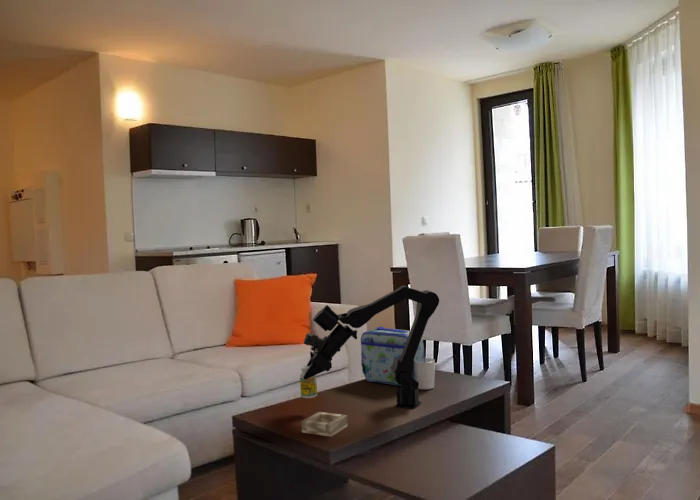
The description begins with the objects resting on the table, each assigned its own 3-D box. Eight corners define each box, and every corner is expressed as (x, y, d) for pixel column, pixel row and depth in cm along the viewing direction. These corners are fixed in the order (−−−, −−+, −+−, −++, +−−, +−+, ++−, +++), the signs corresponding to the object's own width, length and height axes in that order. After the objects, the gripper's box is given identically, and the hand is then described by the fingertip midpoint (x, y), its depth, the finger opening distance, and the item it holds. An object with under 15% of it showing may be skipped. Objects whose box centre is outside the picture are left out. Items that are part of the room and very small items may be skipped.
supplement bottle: (319, 394, 200) (318, 365, 200) (313, 398, 195) (312, 369, 195) (304, 393, 202) (302, 365, 202) (298, 398, 197) (296, 368, 196)
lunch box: (358, 380, 238) (355, 327, 237) (376, 375, 245) (374, 323, 245) (410, 391, 220) (408, 333, 219) (428, 384, 227) (426, 329, 226)
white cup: (438, 385, 225) (437, 358, 225) (430, 390, 218) (429, 363, 218) (419, 383, 229) (418, 357, 229) (410, 388, 222) (409, 361, 222)
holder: (347, 426, 184) (347, 415, 184) (330, 436, 175) (330, 425, 175) (319, 422, 189) (318, 411, 189) (301, 432, 180) (301, 421, 180)
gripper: (315, 320, 207) (285, 354, 207) (319, 328, 189) (285, 366, 188) (339, 341, 209) (309, 375, 208) (345, 352, 190) (312, 390, 189)
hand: (303, 376), depth 198 cm, fingers closed on supplement bottle, 5 cm apart
